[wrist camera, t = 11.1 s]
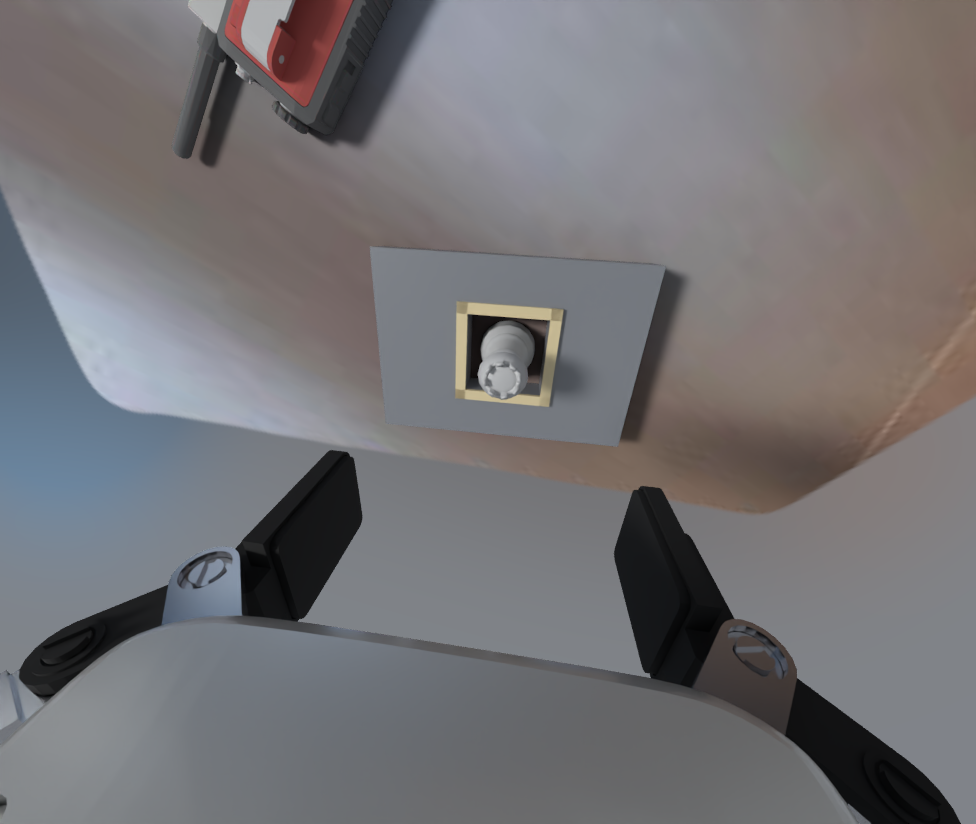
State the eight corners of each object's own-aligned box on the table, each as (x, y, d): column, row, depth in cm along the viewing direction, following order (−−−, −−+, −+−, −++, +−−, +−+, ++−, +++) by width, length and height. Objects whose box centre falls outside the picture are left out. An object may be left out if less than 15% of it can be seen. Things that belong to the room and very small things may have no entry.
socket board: (653, 263, 25) (667, 266, 22) (611, 431, 31) (618, 448, 28) (383, 246, 26) (368, 246, 23) (395, 410, 32) (384, 424, 30)
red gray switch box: (298, -244, 17) (182, 148, 25) (228, -392, 13) (116, 131, 21) (439, -79, 19) (289, 236, 27) (416, -164, 15) (248, 235, 23)
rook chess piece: (546, 349, 28) (552, 386, 21) (505, 381, 30) (498, 425, 23) (511, 307, 27) (505, 331, 20) (470, 343, 29) (451, 377, 22)
